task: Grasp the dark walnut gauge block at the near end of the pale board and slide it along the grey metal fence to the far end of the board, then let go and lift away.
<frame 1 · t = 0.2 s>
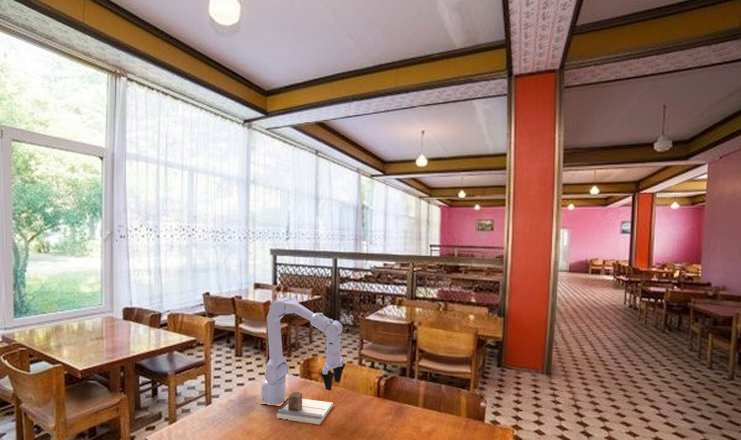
hand: (333, 385, 136), 10 cm above the table, tool pointing down, fingers open, 7 cm apart
gauge block: (295, 409, 133), point 1 cm above the table, touching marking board
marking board: (305, 412, 134), on the table
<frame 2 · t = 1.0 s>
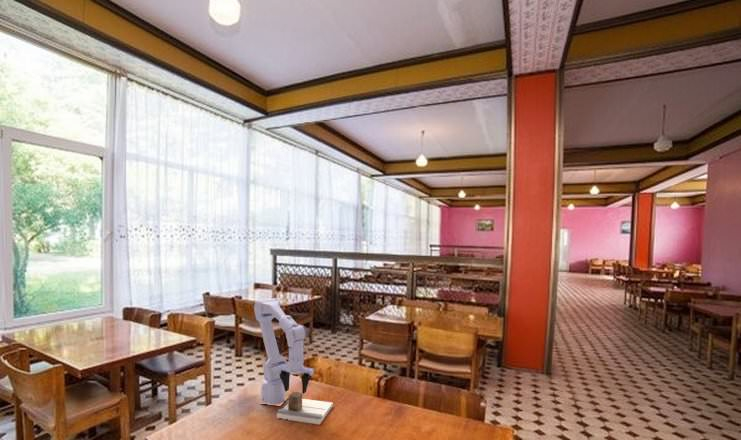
hand: (295, 391, 133), 9 cm above the table, tool pointing down, fingers open, 7 cm apart
nothing on the table moved.
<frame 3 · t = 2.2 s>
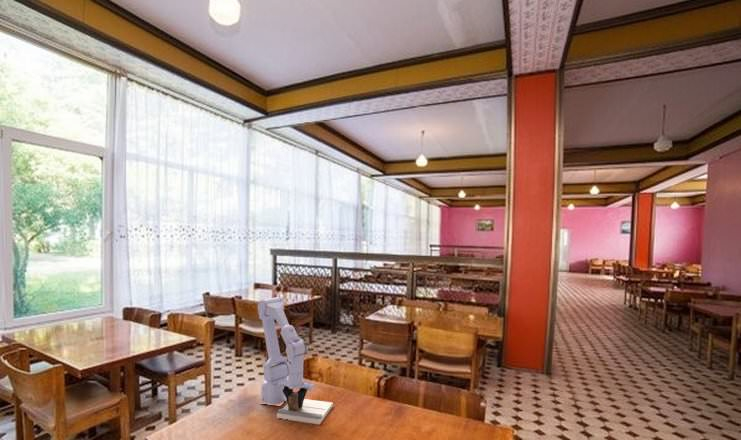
hand: (295, 406, 133), 3 cm above the table, tool pointing down, fingers closed on gauge block, 4 cm apart
gauge block: (295, 409, 133), point 1 cm above the table, touching gripper, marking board
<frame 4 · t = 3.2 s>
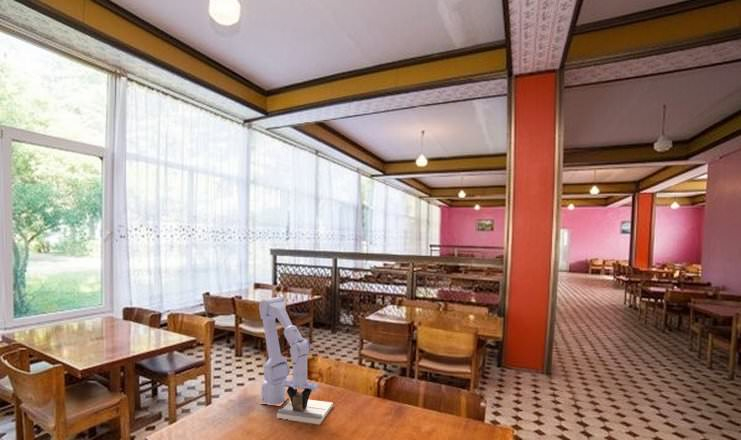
hand: (299, 406, 133), 3 cm above the table, tool pointing down, fingers closed on gauge block, 4 cm apart
gauge block: (299, 410, 133), point 2 cm above the table, touching gripper
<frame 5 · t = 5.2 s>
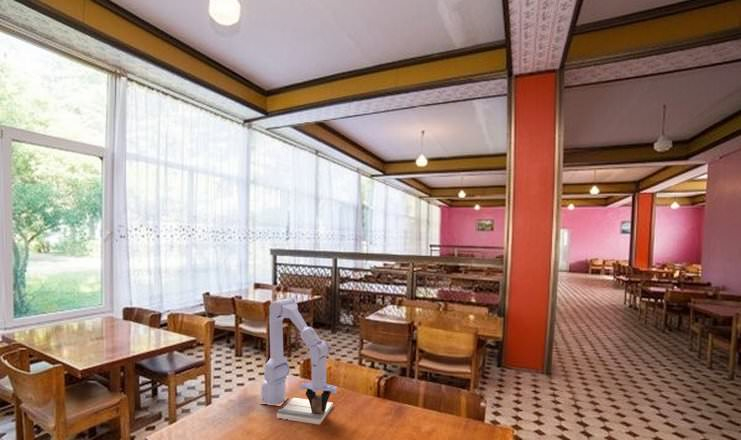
hand: (318, 409, 131), 3 cm above the table, tool pointing down, fingers closed on gauge block, 4 cm apart
gauge block: (318, 413, 131), point 1 cm above the table, touching gripper, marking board
when the fingers open (3 cm above the table, at t = 6.1 s): gauge block stays where it is, resting on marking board.
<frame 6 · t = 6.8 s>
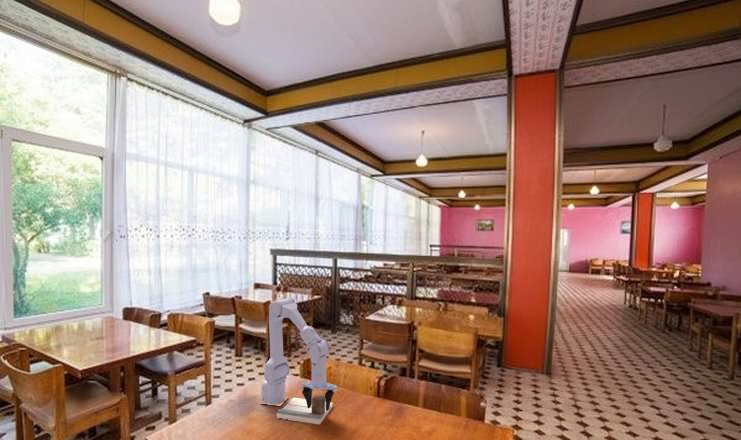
hand: (318, 408, 131), 3 cm above the table, tool pointing down, fingers open, 7 cm apart
gauge block: (318, 413, 131), point 1 cm above the table, touching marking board
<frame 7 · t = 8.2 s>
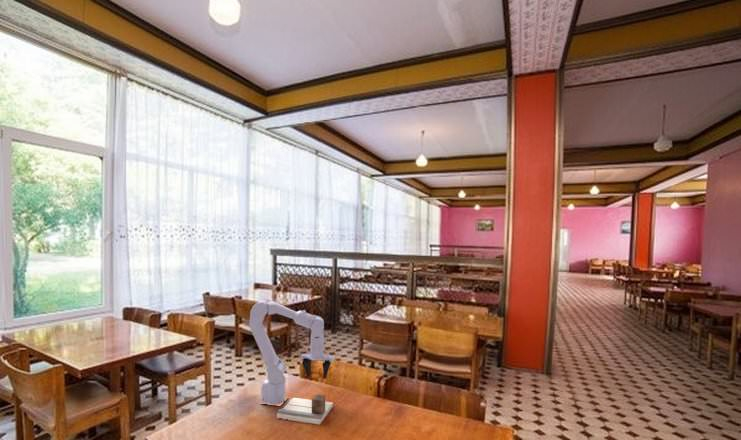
hand: (316, 377, 145), 9 cm above the table, tool pointing down, fingers open, 7 cm apart
nothing on the table moved.
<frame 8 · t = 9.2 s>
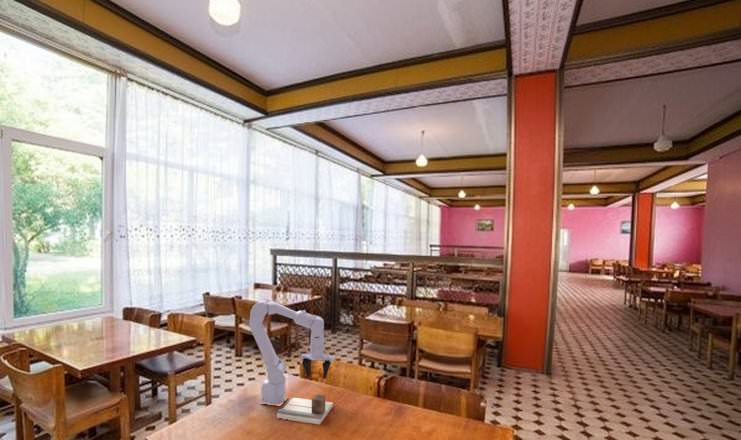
hand: (316, 377, 145), 9 cm above the table, tool pointing down, fingers open, 7 cm apart
nothing on the table moved.
at the end: gauge block 0.3 cm from the target spot, point 1.5 cm above the table; gauge block tilted 0°; the gripper is holding nothing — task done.
